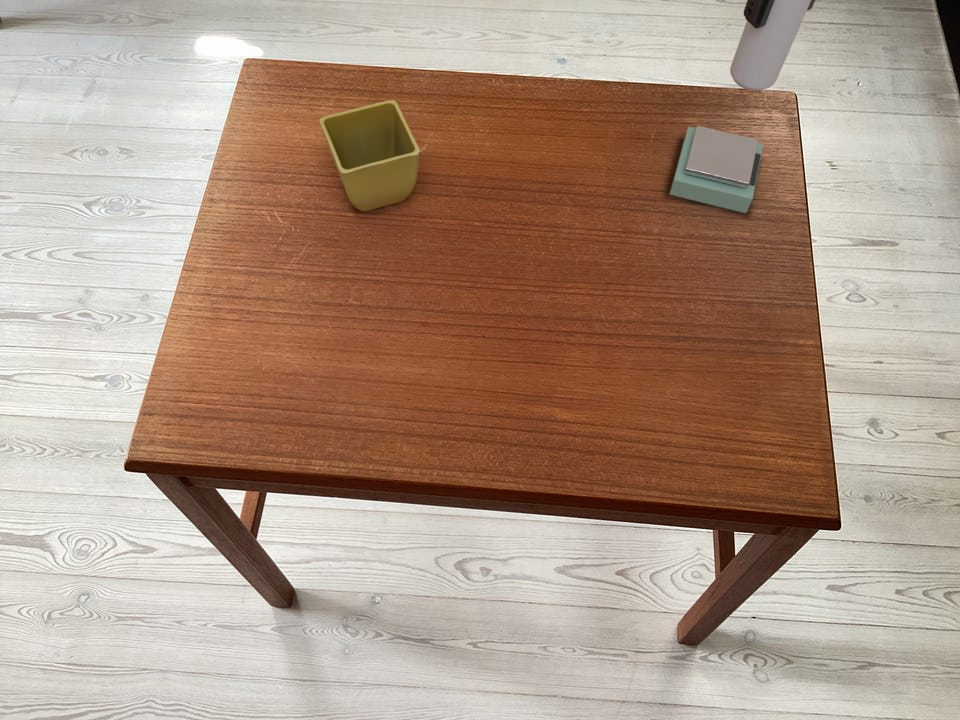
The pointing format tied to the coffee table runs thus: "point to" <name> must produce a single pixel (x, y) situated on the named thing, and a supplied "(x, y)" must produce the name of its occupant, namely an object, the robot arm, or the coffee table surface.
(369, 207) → the flower pot
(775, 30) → the beverage can
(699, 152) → the scale pan
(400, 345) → the coffee table surface
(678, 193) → the scale
